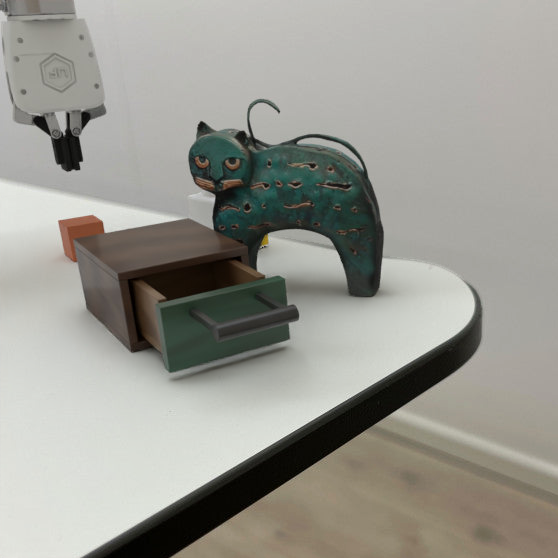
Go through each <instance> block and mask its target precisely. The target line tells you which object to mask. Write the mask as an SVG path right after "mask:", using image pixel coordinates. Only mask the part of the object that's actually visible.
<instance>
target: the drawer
mask: <svg viewBox="0 0 558 558" xmlns="http://www.w3.org/2000/svg"><path fill="white" fill-rule="evenodd" d="M286 284H287V283H286V278H285V277H283V276H281V275H275V276H270V277H266V275H265V274H264V273H262V272H260V271H258V270H257V271H256V270H254V269H252V268H250V267H248V266H246V265H244V264H243V263H241V262H239V261H237V260H235V259H233V258H228V259H223V260H218V261H213V262H209V263H204V264H199V265H195V266H190V267H185V268H180V269H176V270H171V271H166V272H162V273H157V274H152V275H147V276H143V277H138V278H133V279H128V285H129V291H130V297H131V303H132V309H133V314H134V320H135V326H136V331H138V332H139V333H140V334H141V335H142V336H143V337H144V338H145V339H146V340H148V341H149V342H150V343H151V344H152V345H153V346H154V348H155V349H156V350H158V352H159V353H161V354H162V356H163V358H162V359H163V363H164V369H165V370H166V371H167V372H168V373H169V374H173V373H176V372H179V371H183V370H185V369H190V368H193V367H197V366H201V365H204V364H208V363H211V362H216V361H218V360H222V359H226V358H229V357H232V356H237V355H239V354H240V355H241V354H243V353H248V352H251V351H254V350H258V349H262V348H265V347H267V346H272V345H276V344H279V343H282V342H286V341H289V340H291V332H290V331H291V330H290V324H291V323H295V322H298V321H299V319H300V311H299V309H298V307H297V306H296V304H293V303H292V304H288V297H287V295H288V294H287V285H286Z"/></svg>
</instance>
